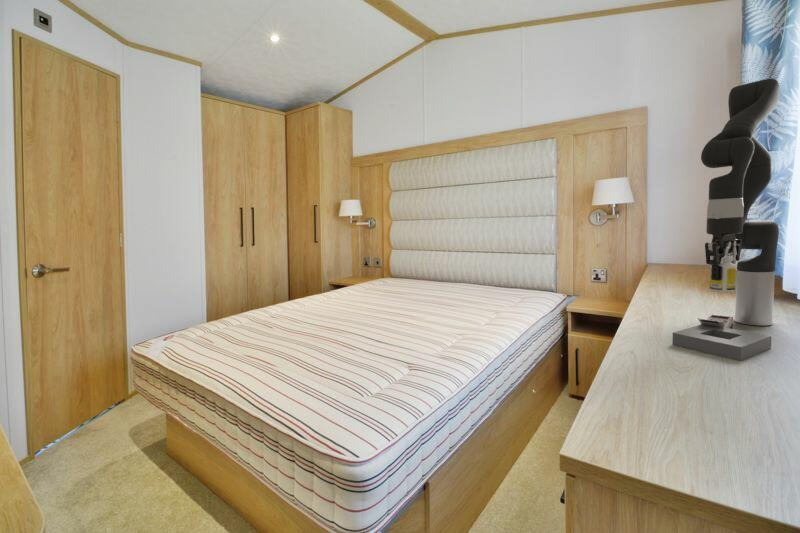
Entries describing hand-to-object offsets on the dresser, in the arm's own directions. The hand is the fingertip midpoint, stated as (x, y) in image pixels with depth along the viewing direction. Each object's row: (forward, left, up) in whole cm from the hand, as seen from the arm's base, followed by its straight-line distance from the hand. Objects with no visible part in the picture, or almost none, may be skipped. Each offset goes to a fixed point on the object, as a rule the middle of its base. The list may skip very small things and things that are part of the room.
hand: (722, 278), depth 107 cm
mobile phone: (-16, -8, -19) cm, 26 cm away
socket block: (0, 0, -19) cm, 19 cm away
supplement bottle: (0, 0, -4) cm, 4 cm away
